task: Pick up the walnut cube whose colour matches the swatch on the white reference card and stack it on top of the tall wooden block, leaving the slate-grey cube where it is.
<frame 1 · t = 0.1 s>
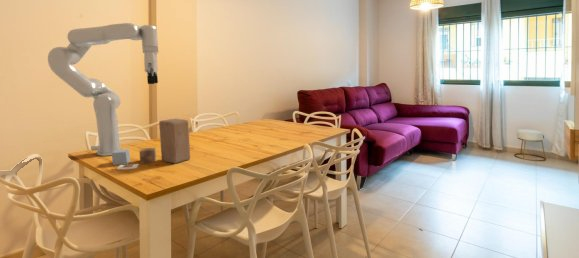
hand: (153, 83, 171), 37 cm above the table, tool pointing down, fingers open, 9 cm apart
walnut cube: (148, 161, 157), on the table
wooden block: (176, 160, 159), on the table
slate-grey cube: (121, 163, 154), on the table
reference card: (128, 167, 147), on the table
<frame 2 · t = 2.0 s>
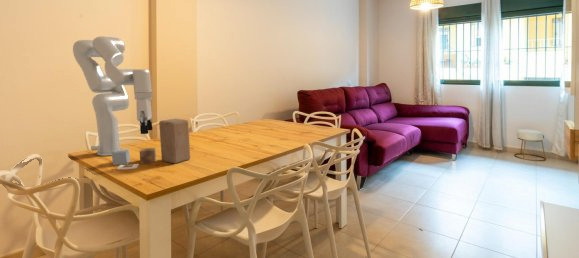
hand: (146, 131, 154), 15 cm above the table, tool pointing down, fingers open, 9 cm apart
nothing on the table moved.
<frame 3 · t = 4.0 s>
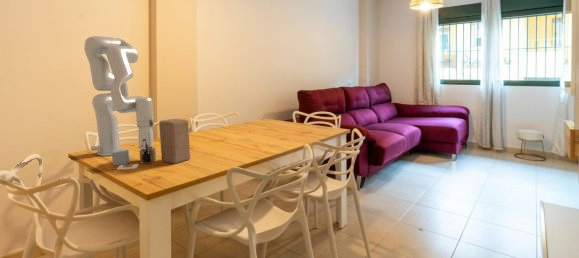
hand: (148, 159, 157), 1 cm above the table, tool pointing down, fingers closed on walnut cube, 6 cm apart
walnut cube: (148, 161, 157), on the table, touching gripper
everything else where it was.
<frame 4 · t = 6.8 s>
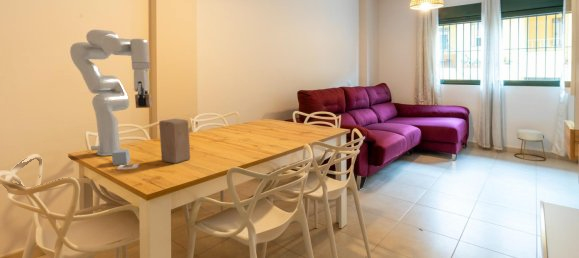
hand: (144, 105, 152), 27 cm above the table, tool pointing down, fingers closed on walnut cube, 6 cm apart
walnut cube: (144, 107, 152), point 27 cm above the table, touching gripper
everything else where it was.
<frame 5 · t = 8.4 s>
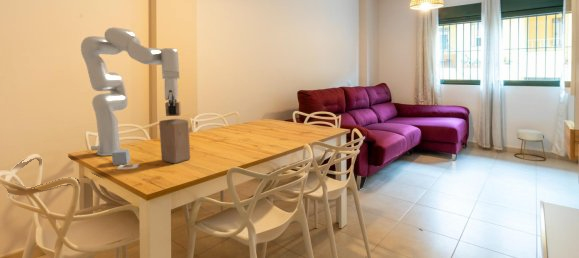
hand: (173, 113, 154), 23 cm above the table, tool pointing down, fingers closed on walnut cube, 6 cm apart
walnut cube: (173, 115, 155), point 23 cm above the table, touching gripper
everything else where it was.
when the fingers open (22 cm above the table, at t = 9.5 s): walnut cube drops 1 cm, resting on wooden block.
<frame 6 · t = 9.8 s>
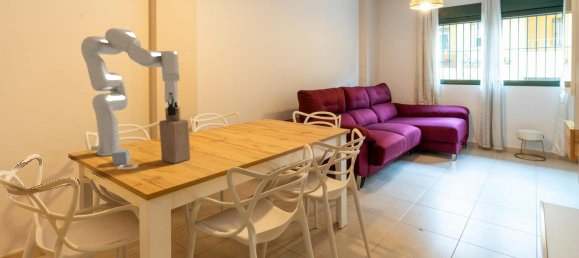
hand: (173, 114, 155), 23 cm above the table, tool pointing down, fingers open, 9 cm apart
walnut cube: (173, 120, 155), point 20 cm above the table, touching wooden block
wooden block: (176, 160, 159), on the table, touching walnut cube
everything else where it was.
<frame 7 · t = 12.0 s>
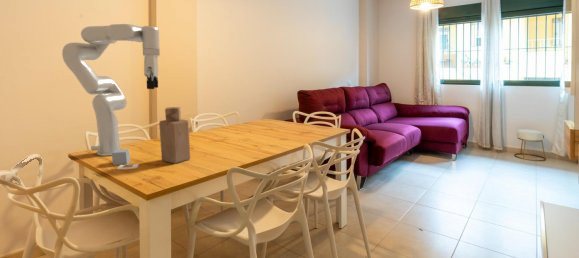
hand: (152, 88, 160), 35 cm above the table, tool pointing down, fingers open, 9 cm apart
nothing on the table moved.
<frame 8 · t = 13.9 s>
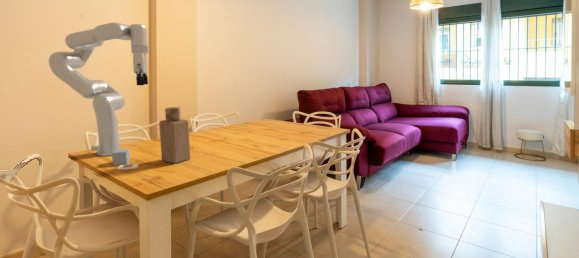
hand: (142, 84, 164), 36 cm above the table, tool pointing down, fingers open, 9 cm apart
nothing on the table moved.
at the end: walnut cube inside the target area on the wooden block (0.1 cm from its centre), point 20.2 cm above the wooden block's base; walnut cube tilted 0°; slate-grey cube moved 0.1 cm from its start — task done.
